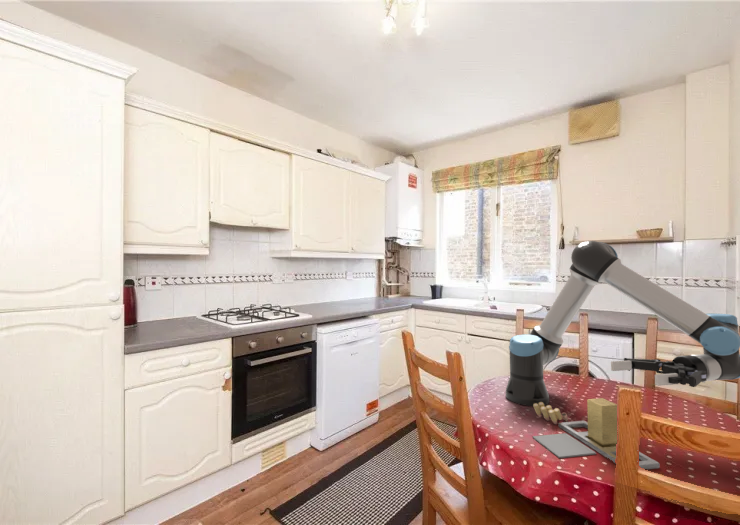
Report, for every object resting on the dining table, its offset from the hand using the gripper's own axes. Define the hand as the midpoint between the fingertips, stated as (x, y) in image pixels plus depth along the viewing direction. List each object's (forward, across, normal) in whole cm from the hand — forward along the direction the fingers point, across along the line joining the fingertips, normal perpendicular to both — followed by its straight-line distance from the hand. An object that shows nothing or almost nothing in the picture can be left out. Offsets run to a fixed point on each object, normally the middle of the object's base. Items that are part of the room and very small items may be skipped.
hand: (632, 372), depth 97 cm
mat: (+21, +2, -20) cm, 29 cm away
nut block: (+10, 0, -20) cm, 22 cm away
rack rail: (+10, 0, -20) cm, 22 cm away
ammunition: (+13, +18, -20) cm, 30 cm away
